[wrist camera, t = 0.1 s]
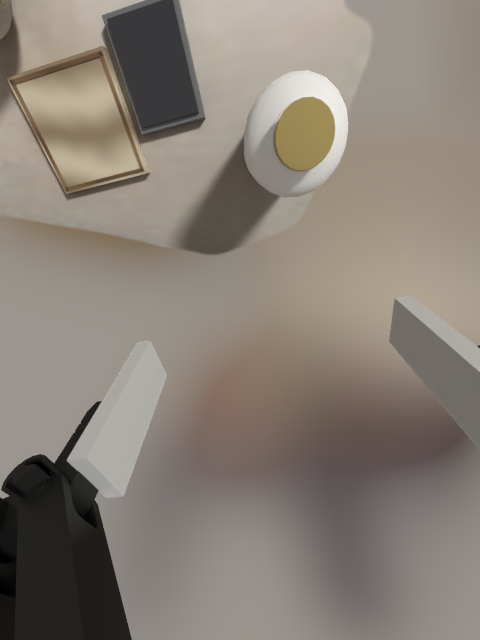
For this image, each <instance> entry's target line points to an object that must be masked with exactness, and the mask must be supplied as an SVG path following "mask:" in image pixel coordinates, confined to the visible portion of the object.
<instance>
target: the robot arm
mask: <svg viewBox="0 0 480 640" xmlns="http://www.w3.org/2000/svg"><path fill="white" fill-rule="evenodd" d="M389 342H390V343H391V344H392V345H393V347H394V348H395V349H396V350H397V351H398V353H399V354H400V355H401V356H402V357H403V359H404V360H405V361H406V362H407V363H408V365H409V366H410V367H411V368H412V369H413V371H414V372H415V373H416V374H417V375H418V377H419V378H420V379H421V380H422V381H423V383H424V384H425V385H426V386H427V387H428V389H429V390H430V391H431V392H432V393H433V395H434V396H435V397H436V398H437V399H438V401H439V402H440V403H441V404H442V406H443V407H444V408H445V409H446V410H447V412H448V413H449V414H450V415H451V416H452V418H453V419H454V420H455V421H456V422H457V423H458V425H459V426H460V427H461V428H462V430H463V431H464V432H465V433H466V434H467V436H468V437H469V438H470V439H471V440H472V442H473V443H474V444H475V445H476V446H477V448H478V449H479V450H480V346H476V345H475V344H473V343H472V342H471V341H470V340H468V339H467V338H466V337H464V336H463V335H462V334H460V333H459V332H458V331H456V330H455V329H454V328H453V327H451V326H450V325H449V324H448V323H446V322H445V321H444V320H442V319H441V318H440V317H438V316H437V315H436V314H435V313H433V312H432V311H430V310H429V309H428V308H427V307H425V306H424V305H423V304H421V303H420V302H419V301H418V300H416V299H415V298H414V297H412V296H411V295H410V296H404V297H398V298H395V300H394V307H393V316H392V324H391V331H390V339H389ZM166 378H167V374H166V372H165V370H164V368H163V366H162V364H161V362H160V360H159V358H158V356H157V354H156V352H155V350H154V348H153V346H152V344H151V342H150V341H143V342H137V344H136V345H135V347H134V349H133V350H132V352H131V354H130V355H129V357H128V359H127V360H126V362H125V364H124V365H123V367H122V369H121V370H120V372H119V374H118V375H117V377H116V379H115V380H114V382H113V384H112V385H111V387H110V389H109V390H108V392H107V394H106V395H105V397H104V399H103V400H102V401H100V402H96V403H95V404H94V405H93V406H92V407H91V408H90V409H89V410H88V411H87V413H86V415H85V416H84V418H83V419H82V421H81V424H79V426H78V427H77V429H76V430H75V433H73V435H72V437H71V438H70V440H69V441H68V443H67V445H66V446H65V448H64V449H63V451H62V453H61V454H60V456H59V457H58V459H57V460H56V462H55V464H54V463H53V462H51V461H50V460H49V459H48V458H47V457H46V456H45V455H41V454H40V455H36V456H32V457H30V458H28V459H26V460H25V461H23V462H22V463H21V464H19V465H18V466H17V467H16V468H15V469H14V470H13V471H12V472H11V473H10V474H9V475H8V477H7V478H6V480H5V481H4V483H3V486H2V489H1V490H2V491H3V492H5V493H7V494H8V495H9V497H6V498H4V499H2V498H0V640H132V639H131V635H130V631H129V627H128V623H127V619H126V615H125V611H124V607H123V603H122V599H121V595H120V591H119V587H118V583H117V580H116V575H115V572H114V567H113V564H112V560H111V556H110V552H109V548H108V544H107V540H106V536H105V532H104V528H103V524H102V520H101V516H100V512H99V508H98V505H97V503H96V501H95V500H94V499H95V497H96V495H97V492H98V491H99V492H100V493H101V494H102V495H103V496H104V497H105V498H111V497H121V496H124V493H125V491H126V488H127V485H128V482H129V479H130V477H131V474H132V471H133V469H134V466H135V463H136V460H137V458H138V455H139V452H140V449H141V446H142V444H143V441H144V438H145V435H146V433H147V430H148V427H149V424H150V422H151V419H152V416H153V413H154V411H155V408H156V405H157V402H158V400H159V397H160V394H161V391H162V388H163V386H164V383H165V380H166Z"/></svg>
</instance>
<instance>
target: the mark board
mask: <svg viewBox="0 0 480 640" xmlns="http://www.w3.org/2000/svg"><path fill="white" fill-rule="evenodd" d="M6 79H7V81H8V83H9V85H10V87H11V89H12V91H13V93H14V94H15V96H16V98H17V100H18V102H19V104H20V106H21V108H22V110H23V112H24V114H25V116H26V118H27V120H28V121H29V123H30V125H31V127H32V129H33V131H34V133H35V135H36V137H37V139H38V141H39V143H40V145H41V147H42V149H43V150H44V152H45V154H46V156H47V158H48V160H49V162H50V164H51V166H52V168H53V170H54V172H55V174H56V176H57V177H58V179H59V181H60V183H61V185H62V187H63V189H64V191H65V193H66V194H69V193H74V192H78V191H82V190H85V189H89V188H93V187H97V186H101V185H105V184H109V183H113V182H117V181H120V180H124V179H128V178H132V177H136V176H140V175H144V174H148V173H150V172H149V169H148V166H147V163H146V160H145V158H144V155H143V152H142V149H141V146H140V143H139V140H138V137H137V134H136V132H135V129H134V126H133V123H132V120H131V117H130V114H129V111H128V108H127V105H126V103H125V100H124V97H123V94H122V91H121V88H120V85H119V82H118V79H117V77H116V74H115V71H114V68H113V65H112V62H111V59H110V56H109V53H108V51H107V49H106V48H105V47H103V46H102V47H99V48H96V49H93V50H90V51H87V52H84V53H80V54H77V55H74V56H71V57H68V58H65V59H62V60H59V61H56V62H53V63H50V64H47V65H44V66H41V67H38V68H35V69H32V70H29V71H26V72H23V73H20V74H17V75H14V76H11V77H7V78H6Z"/></svg>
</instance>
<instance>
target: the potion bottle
mask: <svg viewBox="0 0 480 640" xmlns="http://www.w3.org/2000/svg"><path fill="white" fill-rule="evenodd" d="M347 133H348V119H347V111H346V106H345V104H344V102H343V99H342V97H341V95H340V93H339V90H338V89H337V88H336V87H335V86H334V85H333V84H332V83H331V82H330V81H329V80H328V79H327V78H326V77H325V76H322V75H319V74H317V73H314V72H311V71H296V72H289V73H287V74H285V75H283V76H281V77H279V78H277V79H275V80H273V81H272V82H271V83H270V84H269V85H268V86H267V87H266V88H265V89H264V90H263V91H262V92H261V93H260V94H259V95H258V97H257V99H256V101H255V103H254V105H253V107H252V109H251V110H250V112H249V114H248V119H247V123H246V128H245V132H244V159H245V162H246V165H247V168H248V170H249V172H250V173H251V175H252V176H253V178H254V179H255V180H256V181H257V182H258V183H259V184H260V185H261V186H262V187H264V188H265V189H266V190H268V191H269V192H270V193H272V194H276V195H279V196H282V197H299V196H302V195H304V194H307V193H309V192H312V191H314V190H315V189H316V188H318V187H319V186H320V185H321V184H322V183H324V182H325V181H326V180H328V178H329V177H330V175H331V174H332V173H333V171H334V170H335V169H336V167H337V166H338V164H339V162H340V159H341V157H342V154H343V152H344V150H345V147H346V141H347Z"/></svg>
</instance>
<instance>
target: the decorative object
mask: <svg viewBox="0 0 480 640" xmlns="http://www.w3.org/2000/svg"><path fill="white" fill-rule="evenodd" d="M11 21H12V6H11V0H0V39H2V38H3V37H4V36H5V35H6V34H7V33H8V31H9V29H10V26H11Z"/></svg>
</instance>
